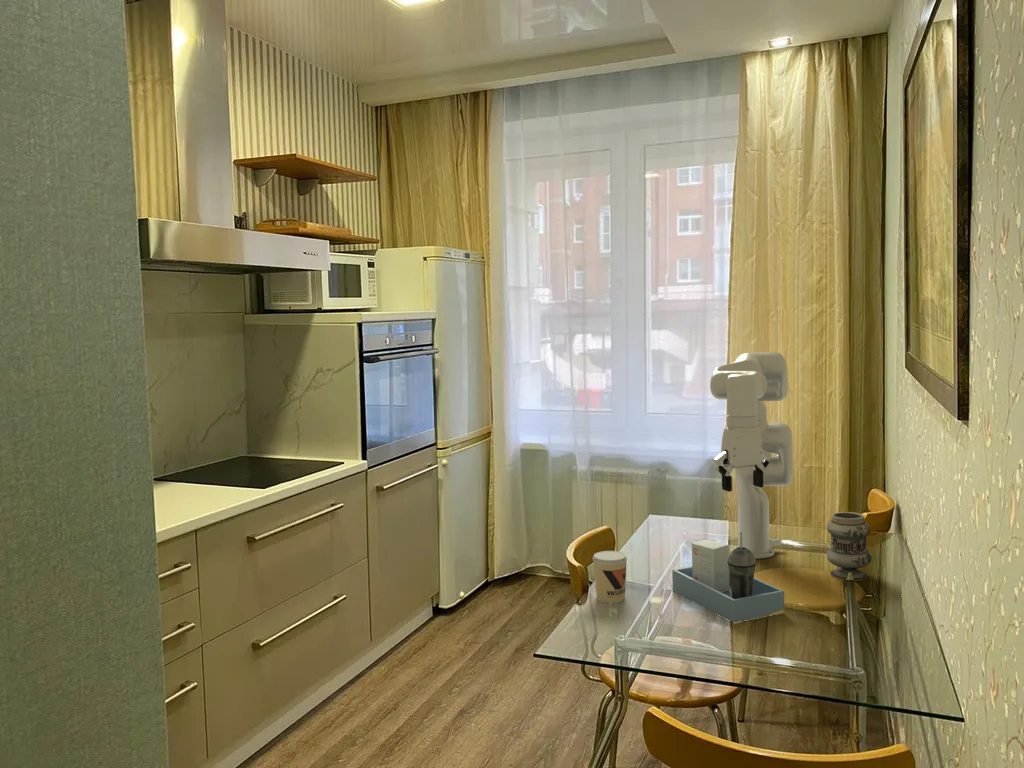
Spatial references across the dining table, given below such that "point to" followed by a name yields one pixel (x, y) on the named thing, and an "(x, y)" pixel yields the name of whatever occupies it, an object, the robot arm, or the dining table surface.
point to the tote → (729, 597)
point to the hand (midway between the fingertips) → (742, 488)
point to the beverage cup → (741, 571)
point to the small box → (711, 564)
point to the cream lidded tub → (610, 576)
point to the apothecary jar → (848, 545)
